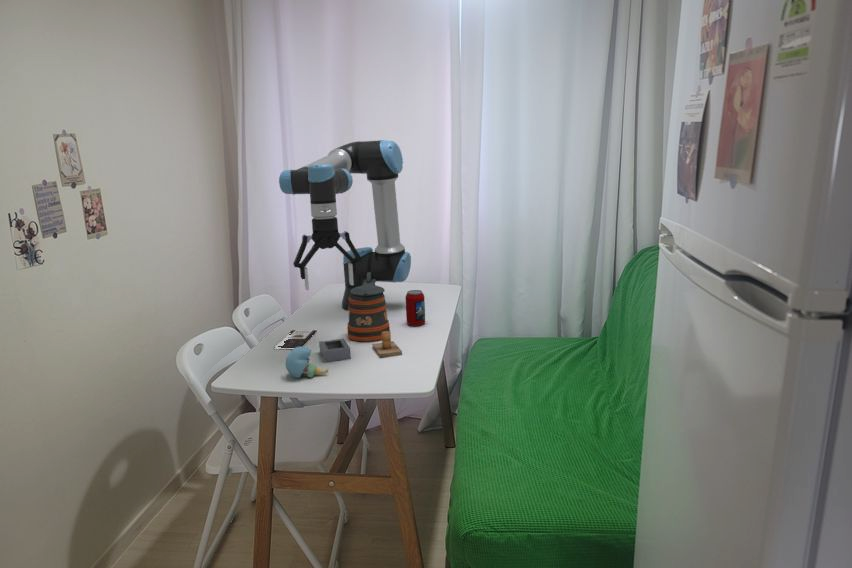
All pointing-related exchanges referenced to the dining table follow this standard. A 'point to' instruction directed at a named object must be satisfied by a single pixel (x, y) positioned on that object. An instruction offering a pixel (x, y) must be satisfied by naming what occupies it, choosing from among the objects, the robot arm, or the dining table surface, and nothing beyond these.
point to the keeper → (386, 346)
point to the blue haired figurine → (301, 363)
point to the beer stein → (367, 312)
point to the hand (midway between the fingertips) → (329, 286)
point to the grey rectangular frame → (335, 350)
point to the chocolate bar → (298, 338)
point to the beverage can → (415, 307)
